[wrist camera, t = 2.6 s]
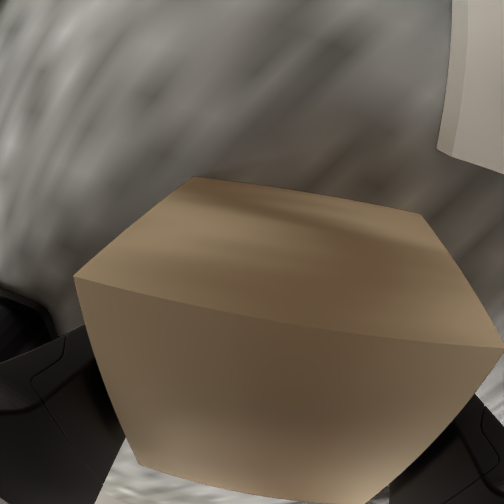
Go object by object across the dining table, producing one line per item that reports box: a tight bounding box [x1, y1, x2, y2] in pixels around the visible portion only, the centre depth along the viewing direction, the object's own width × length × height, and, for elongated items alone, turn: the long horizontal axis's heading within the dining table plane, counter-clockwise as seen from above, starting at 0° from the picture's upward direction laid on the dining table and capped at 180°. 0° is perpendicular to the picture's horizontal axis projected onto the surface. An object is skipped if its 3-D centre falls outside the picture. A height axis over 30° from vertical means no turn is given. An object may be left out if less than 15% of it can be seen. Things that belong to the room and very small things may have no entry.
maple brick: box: [73, 177, 504, 504], centre depth 7 cm, size 6×6×5 cm
